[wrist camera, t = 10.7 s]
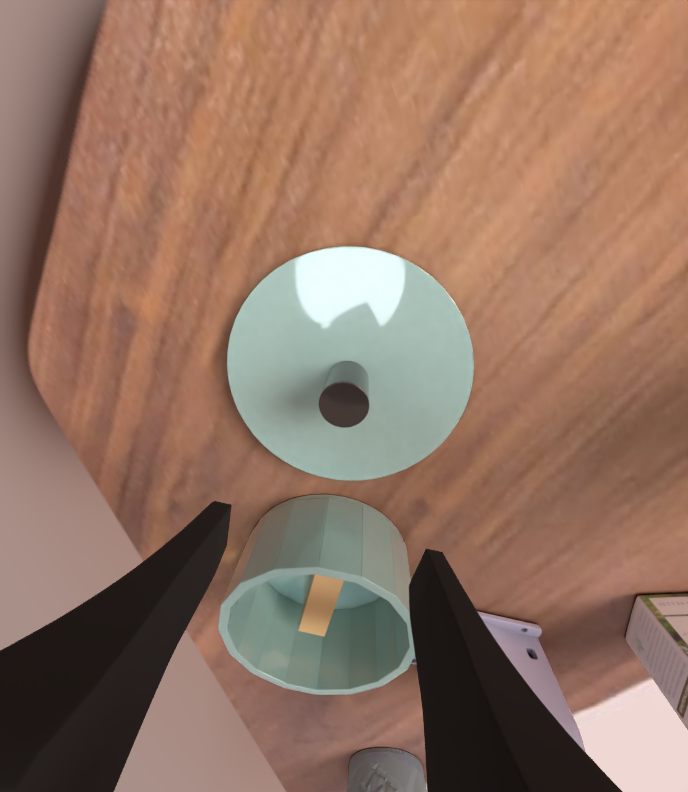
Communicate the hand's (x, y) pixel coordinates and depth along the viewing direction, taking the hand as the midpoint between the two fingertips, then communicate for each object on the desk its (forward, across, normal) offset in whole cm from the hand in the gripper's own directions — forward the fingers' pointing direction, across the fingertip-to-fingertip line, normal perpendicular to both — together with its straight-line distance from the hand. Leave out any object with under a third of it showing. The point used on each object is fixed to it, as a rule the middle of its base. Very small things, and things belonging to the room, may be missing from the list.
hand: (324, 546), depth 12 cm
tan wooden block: (+9, -2, +12) cm, 15 cm away
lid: (+9, 0, -3) cm, 10 cm away
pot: (+10, -2, +12) cm, 15 cm away
